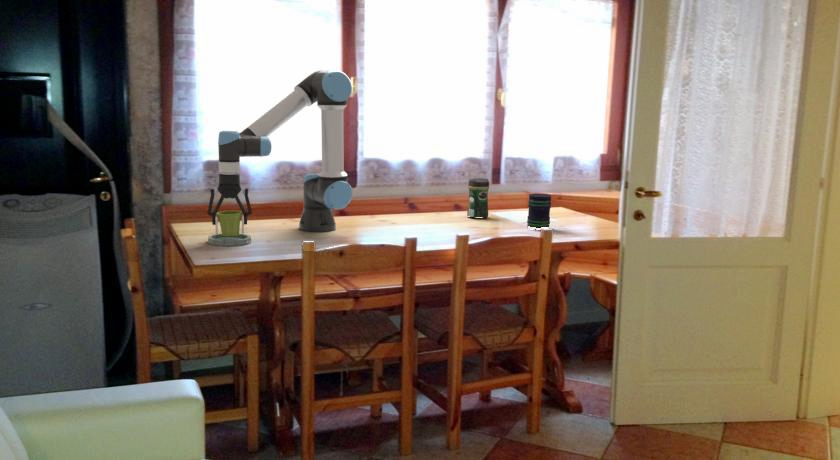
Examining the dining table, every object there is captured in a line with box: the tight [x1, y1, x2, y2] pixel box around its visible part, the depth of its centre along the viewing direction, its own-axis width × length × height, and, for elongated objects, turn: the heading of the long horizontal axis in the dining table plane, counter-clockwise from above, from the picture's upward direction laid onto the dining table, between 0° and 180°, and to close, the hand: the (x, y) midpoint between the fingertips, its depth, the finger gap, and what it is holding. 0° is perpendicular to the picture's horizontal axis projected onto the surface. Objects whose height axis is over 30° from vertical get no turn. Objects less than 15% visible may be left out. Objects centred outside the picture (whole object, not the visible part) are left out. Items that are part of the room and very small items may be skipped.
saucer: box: [207, 232, 252, 247], centre depth 304 cm, size 16×16×2 cm
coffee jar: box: [466, 177, 490, 218], centre depth 380 cm, size 10×8×19 cm
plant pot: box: [216, 210, 243, 237], centre depth 303 cm, size 9×9×9 cm
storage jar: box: [526, 193, 552, 228], centre depth 355 cm, size 10×10×15 cm
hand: (229, 233), depth 303 cm, fingers open, 9 cm apart
